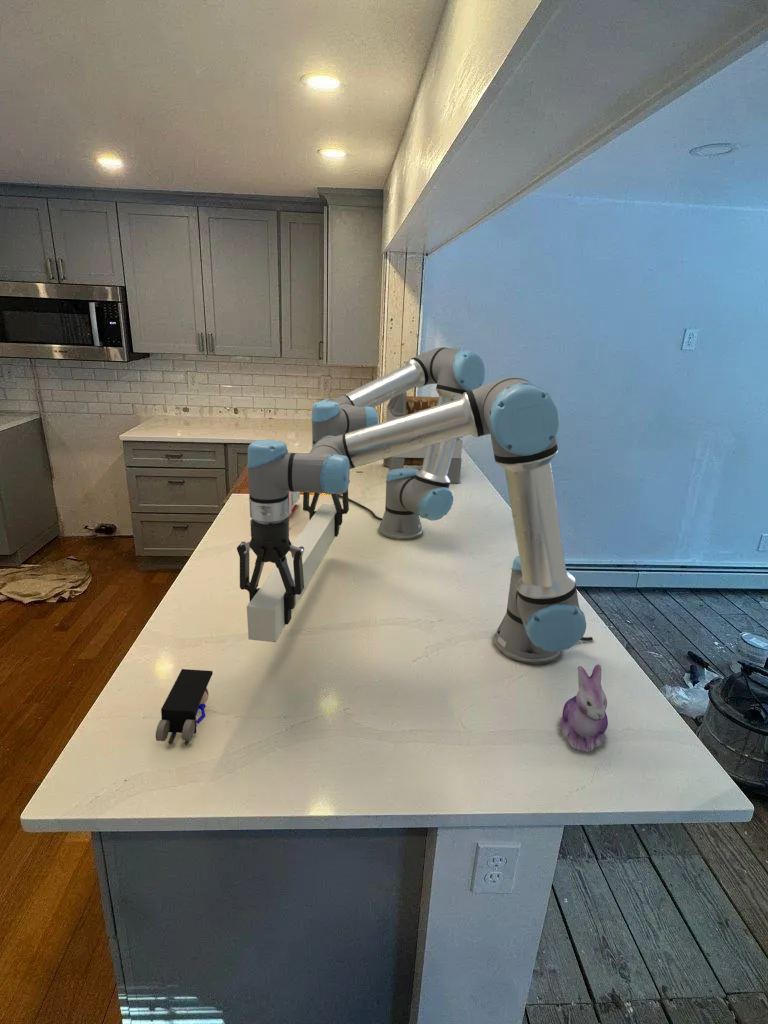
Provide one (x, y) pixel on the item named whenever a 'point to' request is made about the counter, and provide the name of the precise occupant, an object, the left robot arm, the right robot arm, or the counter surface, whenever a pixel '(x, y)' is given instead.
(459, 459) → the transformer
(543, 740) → the counter surface
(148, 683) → the counter surface
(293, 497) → the toy
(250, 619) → the bar
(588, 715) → the figurine
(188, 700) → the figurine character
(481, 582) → the counter surface
